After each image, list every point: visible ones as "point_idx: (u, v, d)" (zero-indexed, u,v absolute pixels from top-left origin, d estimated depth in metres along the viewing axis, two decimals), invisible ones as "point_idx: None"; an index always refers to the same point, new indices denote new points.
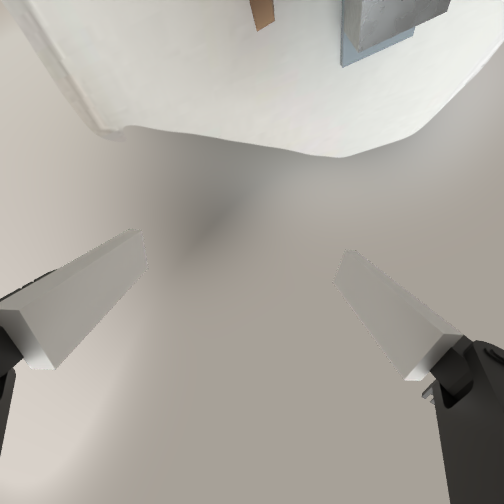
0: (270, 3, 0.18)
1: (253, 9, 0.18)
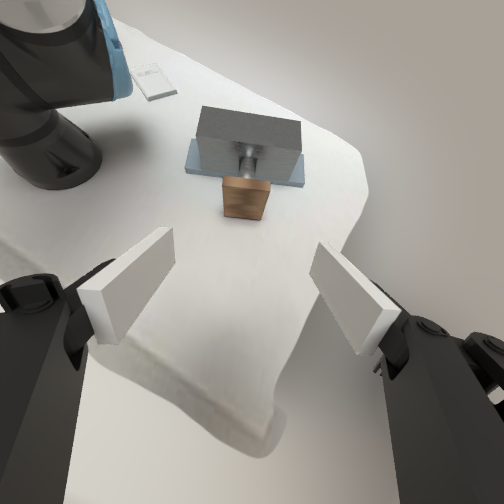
0: (263, 181, 0.30)
1: (261, 189, 0.30)
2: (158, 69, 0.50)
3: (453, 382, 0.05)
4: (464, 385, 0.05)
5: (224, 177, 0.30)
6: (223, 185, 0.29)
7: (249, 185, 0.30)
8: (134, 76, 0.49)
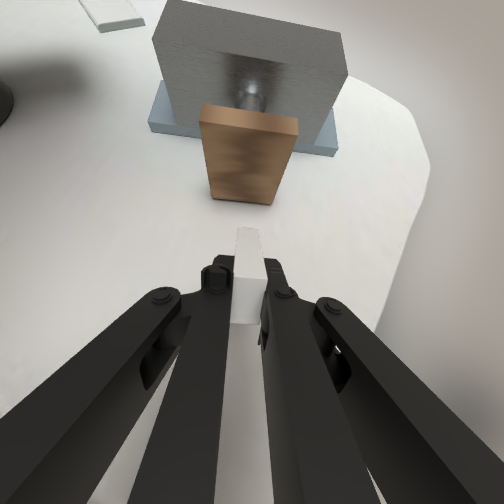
0: (283, 117, 0.15)
1: (280, 131, 0.14)
2: None
3: (294, 339, 0.05)
4: (301, 337, 0.05)
5: (204, 107, 0.14)
6: (201, 121, 0.14)
7: (255, 123, 0.14)
8: None
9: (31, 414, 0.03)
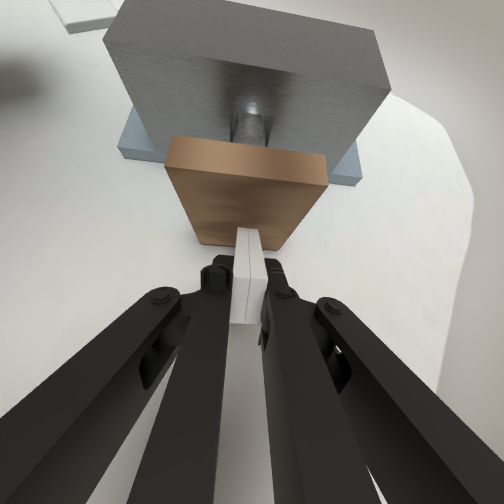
0: (303, 154, 0.10)
1: (299, 179, 0.09)
2: None
3: (294, 339, 0.05)
4: (302, 338, 0.05)
5: (175, 141, 0.09)
6: (169, 167, 0.08)
7: (259, 167, 0.09)
8: None
9: (30, 414, 0.03)
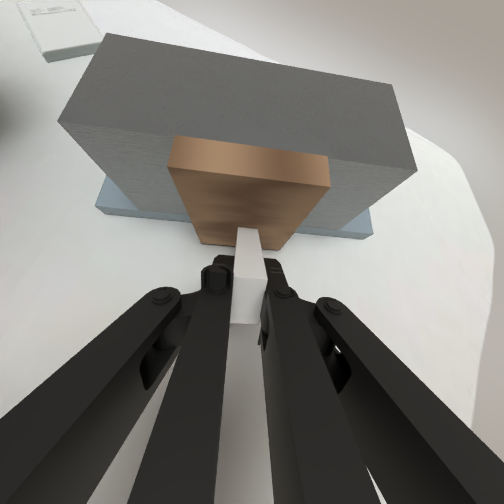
0: (305, 155, 0.10)
1: (302, 180, 0.09)
2: (77, 6, 0.27)
3: (294, 339, 0.05)
4: (301, 337, 0.05)
5: (177, 141, 0.09)
6: (172, 167, 0.08)
7: (262, 168, 0.09)
8: (24, 15, 0.25)
9: (31, 414, 0.03)
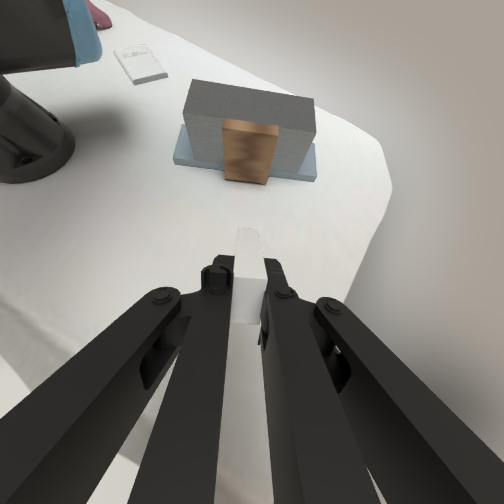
0: (270, 125, 0.26)
1: (268, 133, 0.25)
2: (147, 50, 0.44)
3: (294, 339, 0.05)
4: (301, 337, 0.05)
5: (224, 120, 0.25)
6: (223, 128, 0.25)
7: (254, 129, 0.25)
8: (119, 57, 0.42)
9: (31, 414, 0.03)
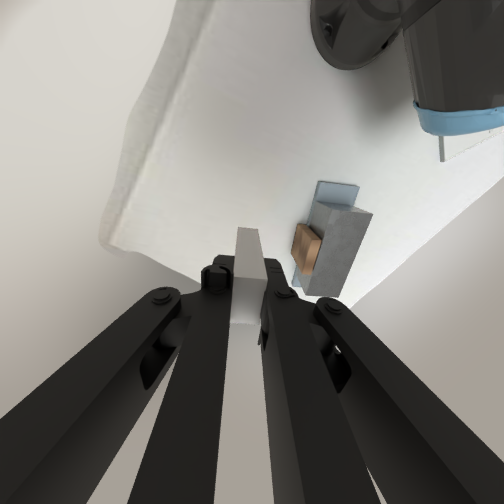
0: (311, 269, 0.38)
1: (304, 268, 0.37)
2: (494, 132, 0.36)
3: (294, 339, 0.05)
4: (301, 338, 0.05)
5: (319, 241, 0.35)
6: (311, 240, 0.35)
7: (308, 259, 0.37)
8: None
9: (31, 414, 0.03)
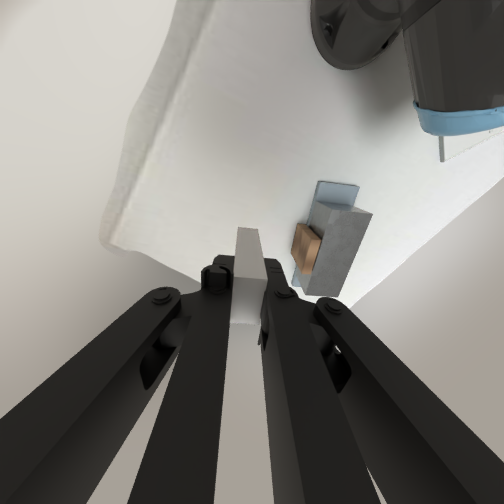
0: (311, 269, 0.38)
1: (304, 267, 0.37)
2: (494, 132, 0.36)
3: (294, 339, 0.05)
4: (301, 337, 0.05)
5: (319, 241, 0.35)
6: (311, 240, 0.35)
7: (308, 259, 0.37)
8: None
9: (31, 414, 0.03)
